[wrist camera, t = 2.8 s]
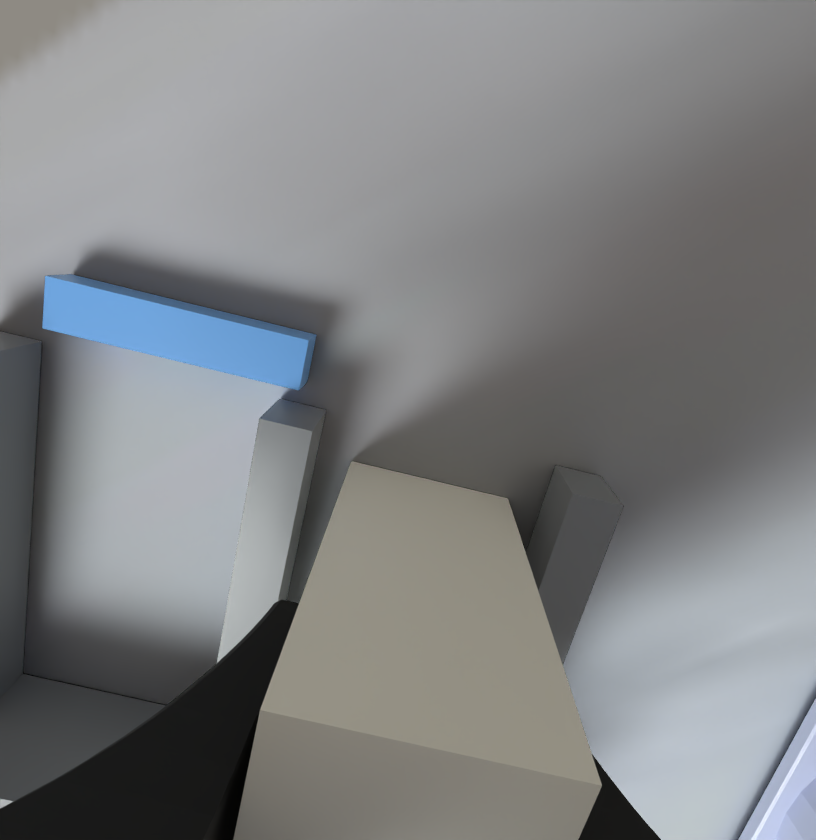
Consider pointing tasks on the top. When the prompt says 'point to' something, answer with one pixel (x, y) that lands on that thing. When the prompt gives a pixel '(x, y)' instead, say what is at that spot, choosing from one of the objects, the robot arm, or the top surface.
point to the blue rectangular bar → (177, 330)
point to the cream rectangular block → (418, 683)
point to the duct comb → (251, 578)
